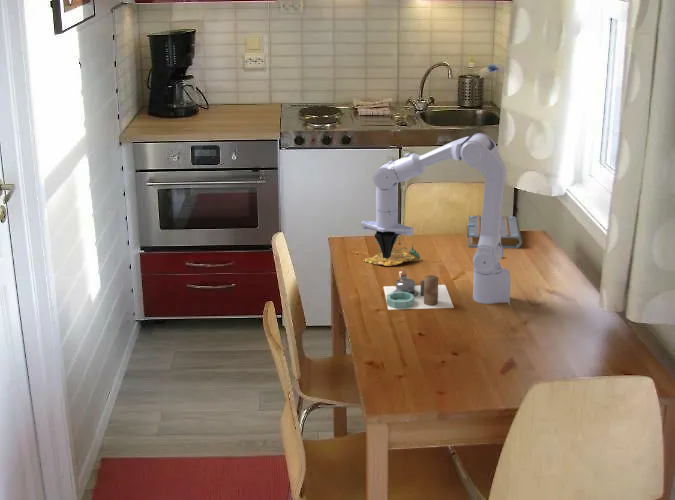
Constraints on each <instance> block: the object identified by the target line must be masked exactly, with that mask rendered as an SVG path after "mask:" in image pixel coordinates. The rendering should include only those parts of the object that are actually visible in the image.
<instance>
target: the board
mask: <svg viewBox="0 0 675 500" xmlns="http://www.w3.org/2000/svg"><path fill="white" fill-rule="evenodd" d="M383 291H384V296H385V301H386V303H387V295H388V294H390V293H392V292H396V285H391V286H388V285H385V286H383ZM413 296H414V304H413V305H412V306H411V307H408V308H393V307H390V306H388V305H387V304H386V306H387V310H388V311H390V310H393V311H394V310H421V309H424V310H425V309H426V310H427V309H454V308H455V307H454V304H453V302H452V299H451V296H450V293H449V291H448V288H447V286H446V284H438V304H437V305H434V306H429V305H425V304H424V280H420V285H415V293H414V294H413Z"/></svg>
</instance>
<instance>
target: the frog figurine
mask: <svg viewBox="0 0 675 500" xmlns="http://www.w3.org/2000/svg"><path fill="white" fill-rule="evenodd" d="M398 241H399V242H398ZM397 242H398V243H397ZM374 243H376V244H379V243H378V241H377V239H376V240H374ZM396 243H397V244H398V245H402V243H401V239H400V237H397V238H396V240H395V243H394V245H395V244H396ZM377 249H378V250H380V251H379V253H376V254H375V255H374V256H371V257H367V258H364V259H365V262H364V263H368V264H371V263H372V264H371V265H373V264H375V265H379V266H380V265H383V267H384V266H385V267H389V266H391V267H392V266H397V265H399V264H403V263H404V262H411V263H412V262H420V261H421V262H422V261H423V259H422V258H421V255H420V253H418V252H417V250H416V249H414V245H411V248H410V250H409V252H401V250H403V249H405V250H408V248H407V247H406V246H403V247H402V248H400V249H398V250H397V249H396V248H394V247H393V248H392V252H391V257H389V258H388V259H386V258H383V255H382V251H381V248H380V246H378V248H377ZM393 250H395V251H393Z"/></svg>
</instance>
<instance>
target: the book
mask: <svg viewBox="0 0 675 500" xmlns="http://www.w3.org/2000/svg"><path fill="white" fill-rule="evenodd" d="M481 221H482V215H479V214H478V215H468V223H467V228H466V231H467V232H466V238H467V239H468V242H467V243H468V248H477V247H478V242H479V239H480V233H481ZM500 236H501V246H502V248H503V249H512V250H513V249H514V248H516V249H519V248H520V247H521V246H522V244H523V239H522V235H521V230H520V223H519V220H518V218H517V217H516V216H507V215H504V216H503V215H501V224H500ZM516 249H515V250H516Z"/></svg>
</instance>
